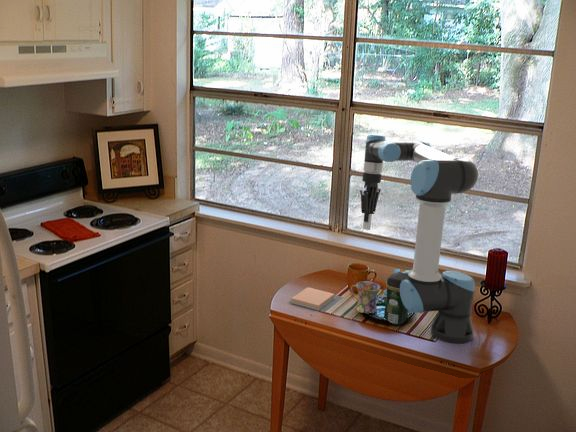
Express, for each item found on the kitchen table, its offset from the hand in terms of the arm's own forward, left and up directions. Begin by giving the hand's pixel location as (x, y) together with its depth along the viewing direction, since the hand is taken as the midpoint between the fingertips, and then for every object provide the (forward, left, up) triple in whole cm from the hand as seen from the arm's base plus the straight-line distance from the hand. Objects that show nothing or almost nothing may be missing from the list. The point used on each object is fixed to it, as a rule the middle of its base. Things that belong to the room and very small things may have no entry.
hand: (366, 229), depth 269 cm
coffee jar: (-29, -12, -27) cm, 41 cm away
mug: (-22, 0, -27) cm, 35 cm away
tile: (-12, +17, -25) cm, 32 cm away
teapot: (-6, -17, -27) cm, 32 cm away
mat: (-18, +18, -26) cm, 37 cm away
